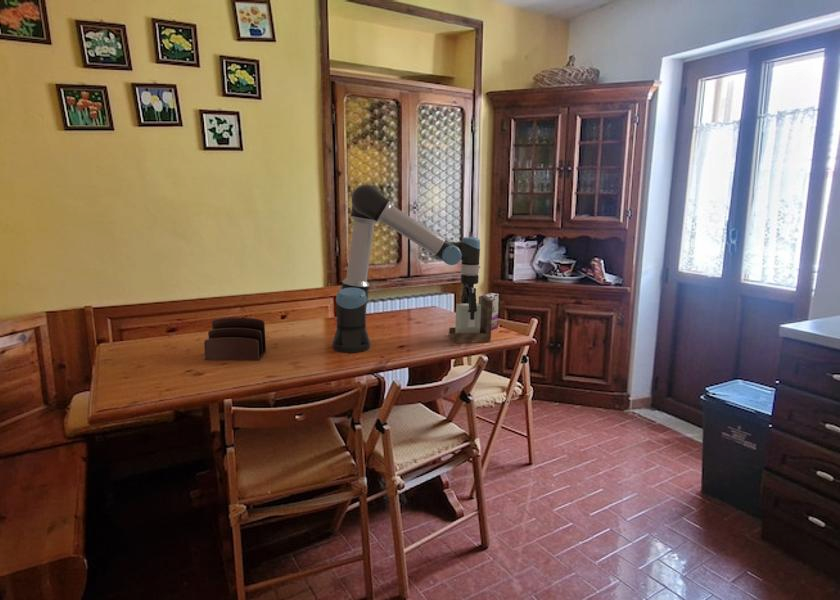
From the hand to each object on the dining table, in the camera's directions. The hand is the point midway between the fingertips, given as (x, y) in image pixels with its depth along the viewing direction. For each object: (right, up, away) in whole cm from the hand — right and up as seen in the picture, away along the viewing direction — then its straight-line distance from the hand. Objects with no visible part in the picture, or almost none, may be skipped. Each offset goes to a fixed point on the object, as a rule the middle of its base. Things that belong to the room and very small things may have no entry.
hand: (467, 322), depth 220 cm
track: (+1, -7, +2) cm, 7 cm away
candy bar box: (+11, -4, +18) cm, 21 cm away
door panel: (0, -6, +1) cm, 6 cm away
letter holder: (-90, -12, -29) cm, 95 cm away
